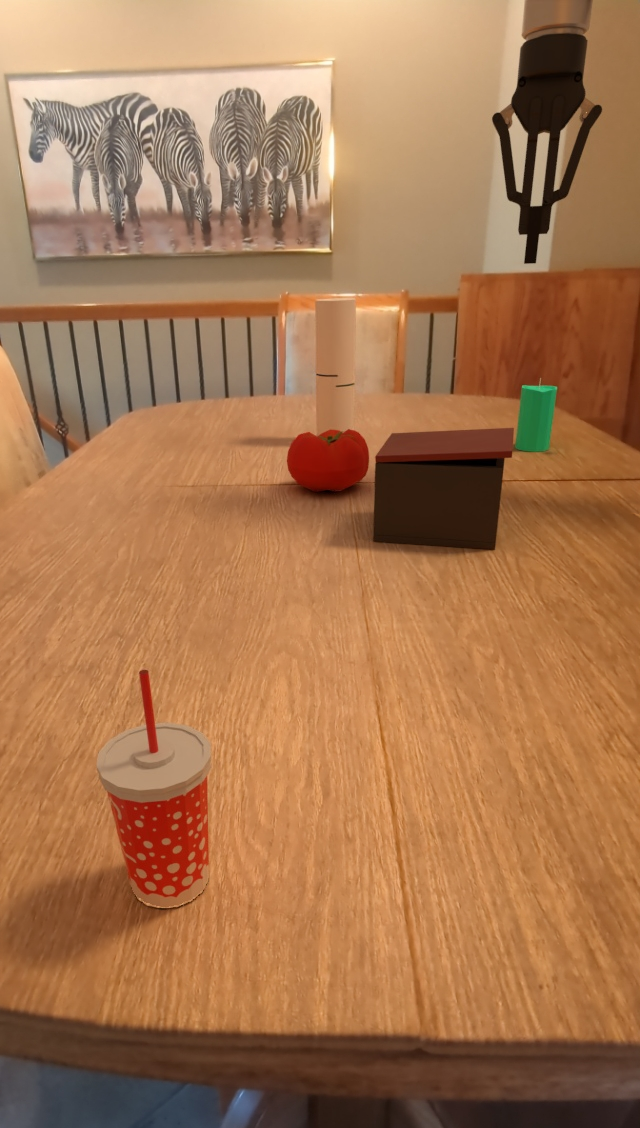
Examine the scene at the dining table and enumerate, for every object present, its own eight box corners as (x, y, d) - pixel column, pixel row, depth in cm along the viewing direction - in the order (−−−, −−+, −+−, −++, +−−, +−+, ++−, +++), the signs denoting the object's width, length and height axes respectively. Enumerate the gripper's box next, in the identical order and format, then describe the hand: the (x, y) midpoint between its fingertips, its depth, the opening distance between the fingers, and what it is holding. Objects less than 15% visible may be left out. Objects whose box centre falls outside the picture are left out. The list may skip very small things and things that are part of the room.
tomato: (299, 503, 110) (298, 444, 106) (281, 481, 121) (280, 427, 117) (382, 496, 112) (384, 438, 108) (357, 475, 123) (358, 421, 119)
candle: (509, 449, 135) (517, 379, 130) (521, 442, 140) (529, 374, 134) (543, 453, 132) (552, 381, 127) (554, 446, 136) (563, 376, 131)
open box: (498, 517, 102) (506, 443, 97) (495, 549, 91) (503, 468, 86) (388, 511, 105) (391, 439, 101) (373, 541, 95) (375, 463, 90)
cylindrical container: (319, 438, 148) (318, 298, 137) (356, 438, 147) (358, 297, 135) (313, 446, 142) (312, 301, 131) (351, 447, 141) (353, 300, 129)
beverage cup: (133, 841, 47) (102, 642, 41) (230, 845, 47) (214, 644, 40) (104, 917, 42) (63, 702, 36) (213, 923, 41) (191, 705, 35)
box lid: (513, 433, 96) (513, 427, 96) (511, 458, 85) (512, 450, 85) (391, 439, 101) (391, 433, 101) (375, 462, 90) (375, 456, 90)
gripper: (610, 40, 90) (580, 261, 101) (497, 51, 93) (480, 264, 104) (617, 24, 84) (584, 262, 94) (495, 37, 87) (477, 265, 98)
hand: (529, 263), depth 99 cm, fingers closed
